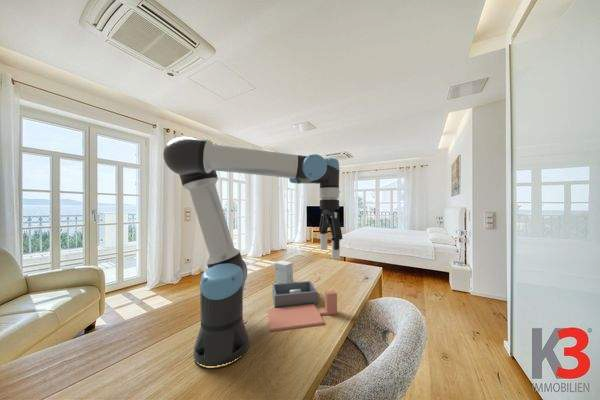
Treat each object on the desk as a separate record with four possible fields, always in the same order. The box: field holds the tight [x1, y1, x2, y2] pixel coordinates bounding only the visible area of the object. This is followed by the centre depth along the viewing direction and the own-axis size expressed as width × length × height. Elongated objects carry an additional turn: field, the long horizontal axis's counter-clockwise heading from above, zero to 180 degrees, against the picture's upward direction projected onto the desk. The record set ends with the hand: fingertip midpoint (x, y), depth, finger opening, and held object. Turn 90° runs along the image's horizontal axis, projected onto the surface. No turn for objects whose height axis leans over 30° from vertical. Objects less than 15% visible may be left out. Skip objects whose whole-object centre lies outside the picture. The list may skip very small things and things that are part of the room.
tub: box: [272, 280, 318, 308], centre depth 92 cm, size 18×12×5 cm, turn 102°
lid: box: [267, 290, 338, 332], centre depth 79 cm, size 26×13×8 cm, turn 102°
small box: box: [274, 260, 294, 284], centre depth 112 cm, size 8×6×10 cm
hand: (329, 253), depth 81 cm, fingers open, 13 cm apart
